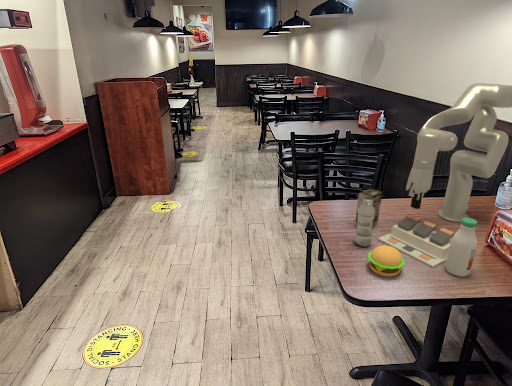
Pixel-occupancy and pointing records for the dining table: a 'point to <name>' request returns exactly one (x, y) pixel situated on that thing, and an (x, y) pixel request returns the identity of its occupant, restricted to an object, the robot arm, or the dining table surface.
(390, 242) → the switch board
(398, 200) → the dining table surface
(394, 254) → the hamburger
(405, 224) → the switch
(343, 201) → the dining table surface
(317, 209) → the dining table surface
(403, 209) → the dining table surface
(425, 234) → the switch middle
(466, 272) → the milk bottle
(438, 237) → the switch
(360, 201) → the coffee box
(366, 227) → the plastic bottle
